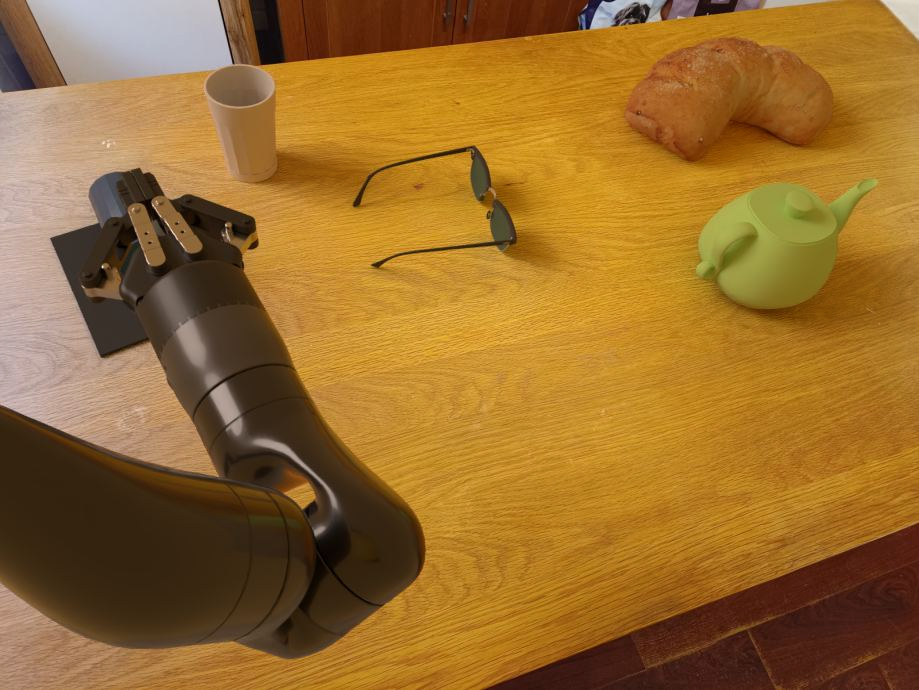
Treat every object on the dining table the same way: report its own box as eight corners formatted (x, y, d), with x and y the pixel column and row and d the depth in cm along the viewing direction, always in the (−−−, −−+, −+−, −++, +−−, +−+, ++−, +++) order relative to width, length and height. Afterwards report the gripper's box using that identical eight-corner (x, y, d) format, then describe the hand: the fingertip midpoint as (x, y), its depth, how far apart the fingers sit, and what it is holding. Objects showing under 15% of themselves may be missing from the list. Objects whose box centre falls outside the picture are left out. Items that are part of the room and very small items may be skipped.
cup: (206, 166, 93) (188, 86, 83) (251, 135, 97) (239, 55, 87) (253, 196, 91) (240, 118, 81) (297, 163, 95) (290, 84, 85)
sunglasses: (347, 188, 94) (346, 158, 90) (472, 172, 98) (477, 143, 94) (377, 288, 85) (378, 260, 81) (513, 266, 90) (521, 238, 86)
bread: (771, 63, 121) (801, 6, 112) (838, 145, 110) (877, 88, 102) (593, 81, 112) (612, 21, 104) (648, 171, 102) (673, 112, 94)
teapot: (788, 212, 101) (840, 136, 90) (860, 294, 94) (925, 222, 83) (655, 248, 94) (693, 171, 83) (721, 340, 87) (772, 269, 76)
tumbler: (110, 249, 76) (81, 180, 81) (125, 286, 81) (97, 219, 86) (169, 231, 78) (138, 165, 83) (180, 268, 83) (150, 203, 88)
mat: (101, 357, 76) (99, 355, 76) (50, 240, 84) (49, 237, 84) (248, 301, 82) (247, 299, 82) (188, 197, 90) (188, 194, 90)
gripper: (310, 276, 48) (208, 115, 55) (100, 355, 43) (20, 166, 50) (315, 341, 54) (223, 188, 61) (133, 417, 49) (57, 240, 56)
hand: (132, 178), depth 56 cm, fingers closed
